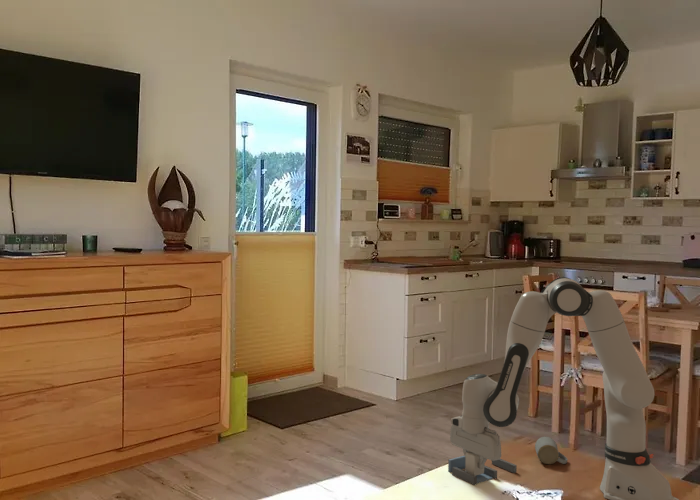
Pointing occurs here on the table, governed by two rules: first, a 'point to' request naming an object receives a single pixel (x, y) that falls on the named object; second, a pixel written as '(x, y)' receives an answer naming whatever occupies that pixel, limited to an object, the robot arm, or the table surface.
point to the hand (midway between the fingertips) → (474, 465)
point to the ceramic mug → (548, 451)
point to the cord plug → (473, 464)
